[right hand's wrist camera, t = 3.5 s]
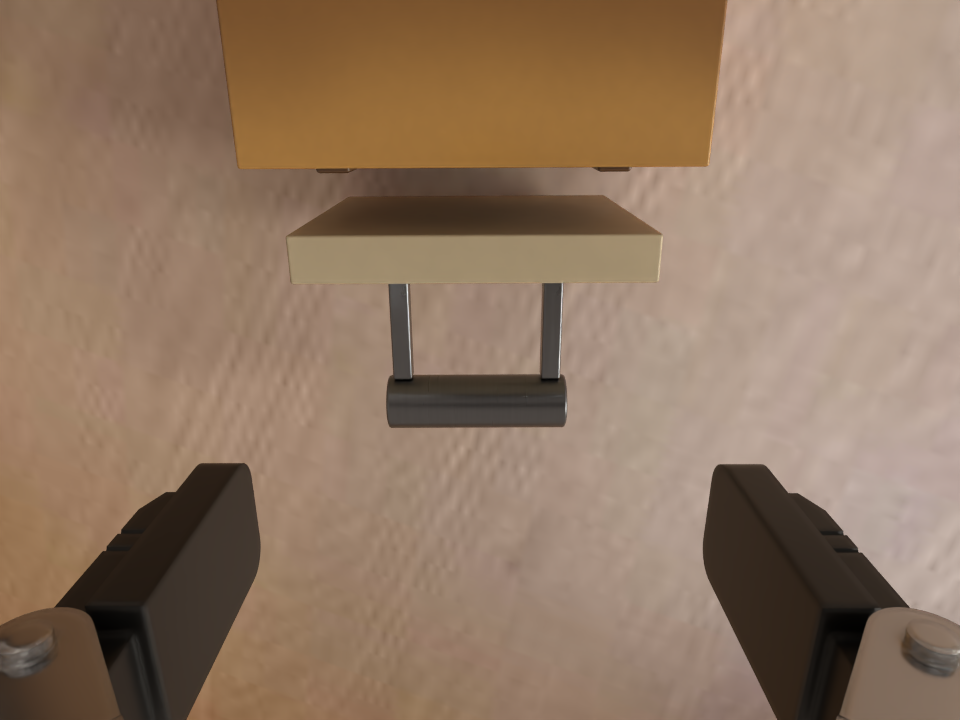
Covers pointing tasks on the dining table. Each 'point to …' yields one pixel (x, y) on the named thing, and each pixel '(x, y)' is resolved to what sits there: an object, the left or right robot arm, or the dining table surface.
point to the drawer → (475, 259)
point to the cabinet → (471, 82)
